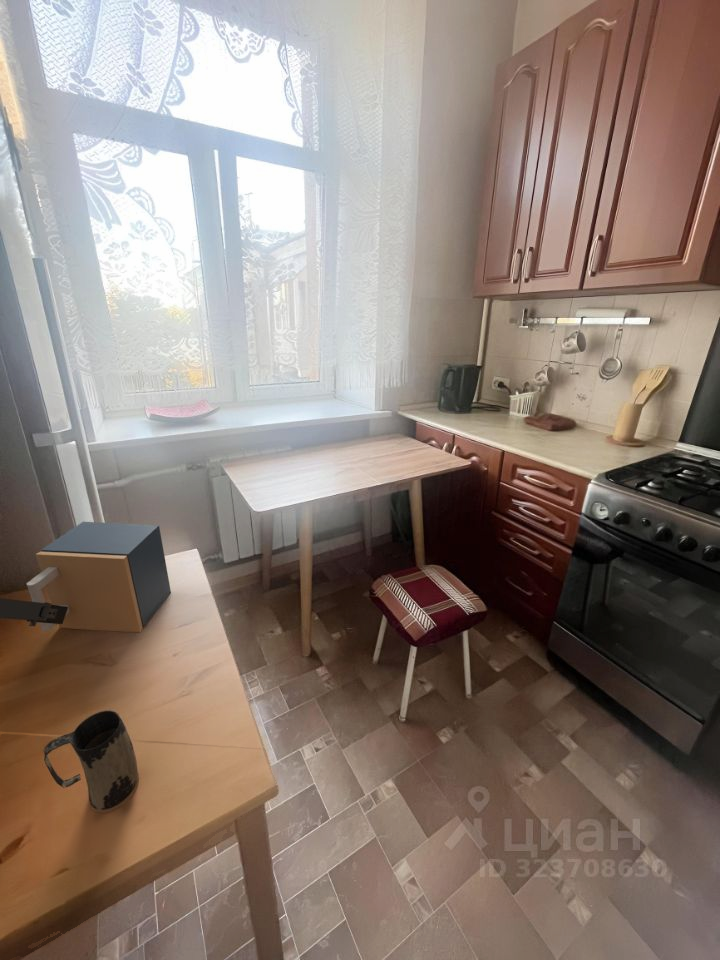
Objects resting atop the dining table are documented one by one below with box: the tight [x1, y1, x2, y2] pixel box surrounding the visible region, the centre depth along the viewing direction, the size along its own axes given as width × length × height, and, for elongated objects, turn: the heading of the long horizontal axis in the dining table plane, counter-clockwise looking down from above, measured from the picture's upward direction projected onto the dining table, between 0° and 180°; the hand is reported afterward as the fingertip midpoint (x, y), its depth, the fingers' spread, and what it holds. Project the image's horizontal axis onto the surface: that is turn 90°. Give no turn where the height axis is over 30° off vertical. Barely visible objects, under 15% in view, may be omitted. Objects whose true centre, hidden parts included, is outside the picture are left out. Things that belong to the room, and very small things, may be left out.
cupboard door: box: [26, 551, 144, 633], centre depth 71 cm, size 6×16×17 cm, turn 88°
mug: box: [43, 710, 140, 814], centre depth 48 cm, size 8×6×12 cm
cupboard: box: [40, 521, 172, 629], centre depth 79 cm, size 11×16×17 cm
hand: (23, 613), depth 65 cm, fingers open, 13 cm apart
